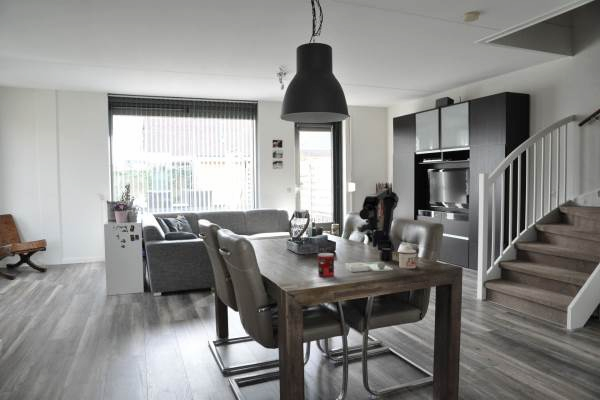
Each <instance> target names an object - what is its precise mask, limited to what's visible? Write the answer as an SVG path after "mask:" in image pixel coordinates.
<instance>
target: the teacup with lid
mask: <svg viewBox="0 0 600 400" xmlns="http://www.w3.org/2000/svg"><path fill="white" fill-rule="evenodd" d="M398 255H399V257H398V258H399V259H398V260H399V268H401V269H415V268H417V262H418V260H419V254H418V253H417V251H416V250H415V249H413V248H411V247H410V246H409V245H406V246H405V247H403V249H400V250H399V251H398Z"/></svg>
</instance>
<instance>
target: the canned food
mask: <svg viewBox="0 0 600 400" xmlns="http://www.w3.org/2000/svg"><path fill="white" fill-rule="evenodd" d="M317 270H318V271H317V273H318V276H319V277H320V278H332V277H334V276H335V255H334V253H332V252H320V253H317Z"/></svg>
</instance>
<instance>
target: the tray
mask: <svg viewBox="0 0 600 400" xmlns="http://www.w3.org/2000/svg"><path fill="white" fill-rule="evenodd" d="M379 262H380V261H376V262H375V261H374V262H364V263H365V264H367V265H369V266H370V270H372V271H374V272H386V271H387V272H388V271H394V267H393V268H392V267H390V266H388V265H386V264H385V267H384V269H379V268H378V266H377V264H378V263H379Z"/></svg>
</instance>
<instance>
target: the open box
mask: <svg viewBox="0 0 600 400" xmlns="http://www.w3.org/2000/svg"><path fill="white" fill-rule="evenodd" d="M365 263H366V262H363V261H361V262H346V263H344V269H346V270H347V271H349V272H351V273H357V272H369V271H370V270H371V269H370V266H369V265H367V264H365Z"/></svg>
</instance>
